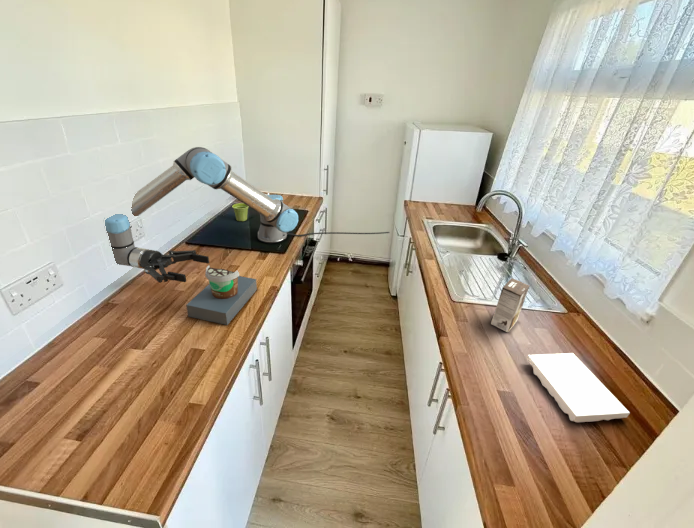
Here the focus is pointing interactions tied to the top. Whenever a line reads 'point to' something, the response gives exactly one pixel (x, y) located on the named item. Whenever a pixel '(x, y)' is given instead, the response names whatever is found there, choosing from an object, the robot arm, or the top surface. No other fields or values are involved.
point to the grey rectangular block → (221, 303)
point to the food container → (222, 282)
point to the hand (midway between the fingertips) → (197, 268)
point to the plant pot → (240, 211)
